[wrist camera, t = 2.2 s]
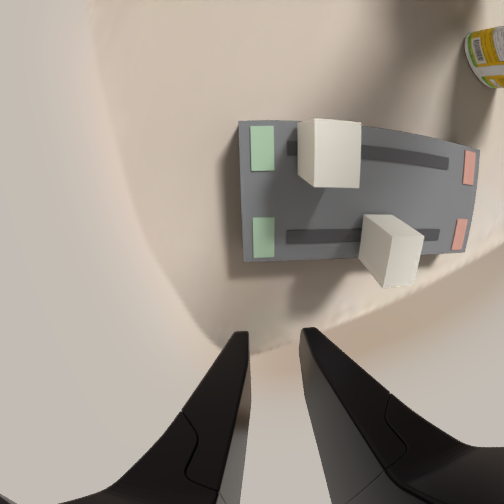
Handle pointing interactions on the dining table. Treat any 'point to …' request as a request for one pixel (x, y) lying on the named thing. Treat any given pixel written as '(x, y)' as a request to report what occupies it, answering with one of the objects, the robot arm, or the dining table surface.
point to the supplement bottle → (487, 55)
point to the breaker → (329, 152)
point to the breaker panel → (352, 193)
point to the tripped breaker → (390, 250)
